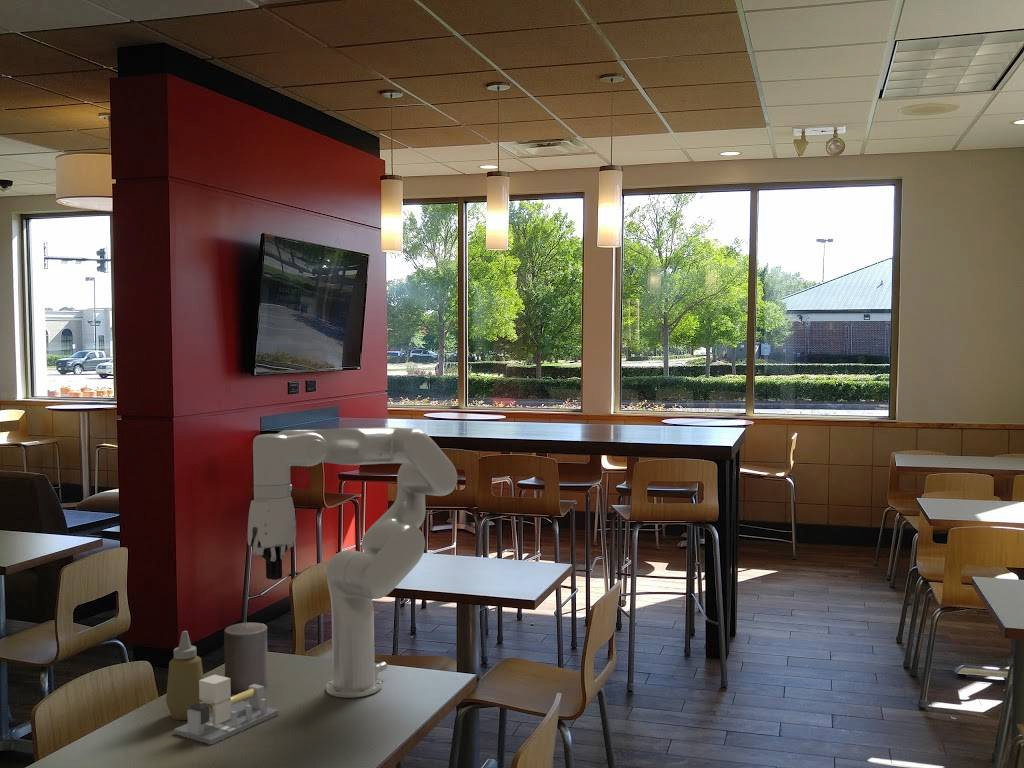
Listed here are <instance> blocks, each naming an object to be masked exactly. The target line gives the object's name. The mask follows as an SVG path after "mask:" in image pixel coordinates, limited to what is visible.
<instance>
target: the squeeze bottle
mask: <svg viewBox="0 0 1024 768" xmlns="http://www.w3.org/2000/svg"><path fill="white" fill-rule="evenodd" d="M180 634H181V635H180V639H179V645H178V646H177V647H175V648H174V649H173V657H172V659H171V660H170V661H169V662H168V675H167V686H166V698H165V699H166V700H165V702H166V703H165V704H166V705H167V708H168V710H169V713H170V716H171V718H172V719H174V720H180V721H182V720H183V721H184V720H188V716H187V710H189V709H190V706H191V705H194V704H197V703H200V700H199V680H201V679H204V678H205V677H204V672H203V671H204V669H203V665H202V664H203V663H202V658H201V657H200V656H198V655H197V646H195V645H192V642H191V639H190V636H189V633H188V630H182V631H181V633H180Z"/></svg>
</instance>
